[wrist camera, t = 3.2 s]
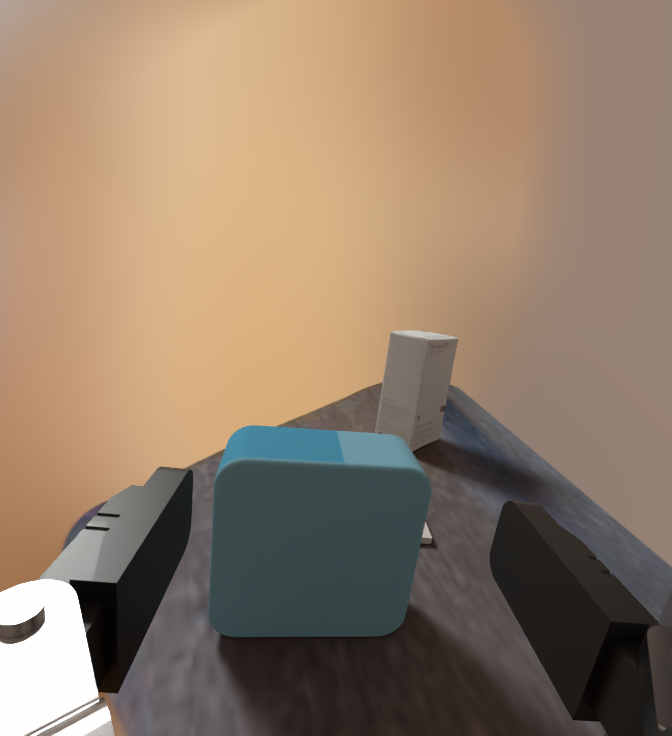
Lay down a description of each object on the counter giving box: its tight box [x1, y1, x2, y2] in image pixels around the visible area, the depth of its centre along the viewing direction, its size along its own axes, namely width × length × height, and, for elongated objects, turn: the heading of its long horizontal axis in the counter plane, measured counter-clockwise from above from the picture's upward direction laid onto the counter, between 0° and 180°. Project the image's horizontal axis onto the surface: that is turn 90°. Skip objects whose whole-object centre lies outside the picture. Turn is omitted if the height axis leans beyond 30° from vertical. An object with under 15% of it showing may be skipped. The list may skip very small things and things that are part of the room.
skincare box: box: [375, 331, 458, 452], centre depth 52 cm, size 8×6×15 cm
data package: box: [209, 426, 431, 637], centre depth 24 cm, size 12×4×12 cm, turn 96°
